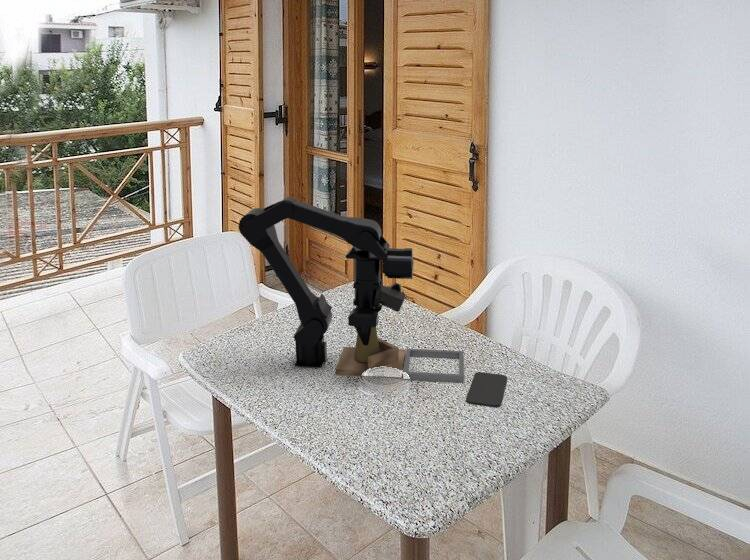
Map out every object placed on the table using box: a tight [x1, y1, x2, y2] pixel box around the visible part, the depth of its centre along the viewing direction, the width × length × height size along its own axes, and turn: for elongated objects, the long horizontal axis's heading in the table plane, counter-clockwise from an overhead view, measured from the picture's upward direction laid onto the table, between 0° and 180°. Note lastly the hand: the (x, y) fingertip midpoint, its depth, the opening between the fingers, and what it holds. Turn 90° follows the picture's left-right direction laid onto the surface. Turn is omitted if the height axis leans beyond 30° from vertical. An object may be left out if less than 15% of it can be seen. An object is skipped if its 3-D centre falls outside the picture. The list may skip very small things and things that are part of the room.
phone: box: [465, 371, 508, 408], centre depth 156 cm, size 7×1×15 cm
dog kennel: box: [335, 336, 407, 377], centre depth 167 cm, size 15×12×4 cm
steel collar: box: [403, 348, 465, 383], centre depth 166 cm, size 14×14×2 cm
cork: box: [354, 322, 379, 362], centre depth 166 cm, size 6×6×11 cm
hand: (367, 340), depth 166 cm, fingers closed on cork, 4 cm apart
